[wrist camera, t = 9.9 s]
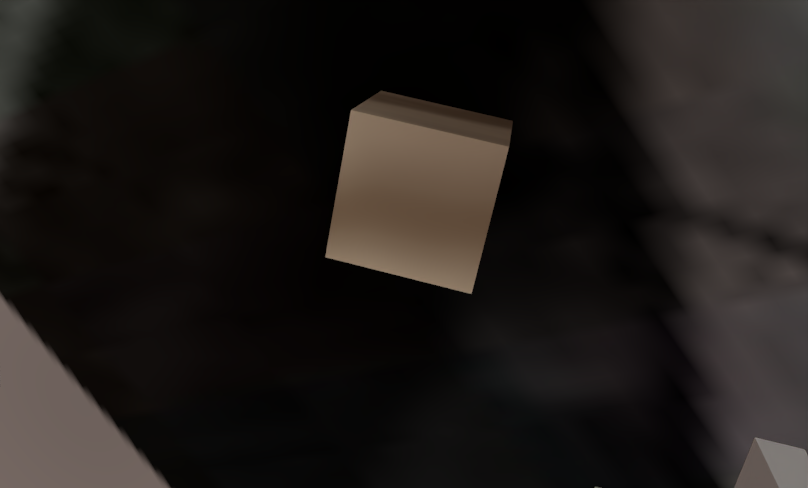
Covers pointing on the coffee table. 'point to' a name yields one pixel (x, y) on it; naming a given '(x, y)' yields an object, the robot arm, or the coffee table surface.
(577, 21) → the coffee table surface
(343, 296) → the coffee table surface
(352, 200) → the beech cube
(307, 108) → the coffee table surface
